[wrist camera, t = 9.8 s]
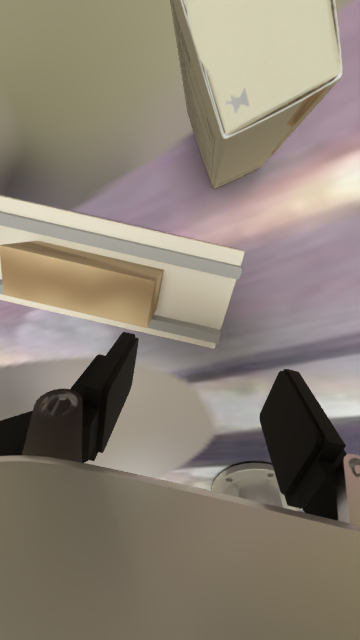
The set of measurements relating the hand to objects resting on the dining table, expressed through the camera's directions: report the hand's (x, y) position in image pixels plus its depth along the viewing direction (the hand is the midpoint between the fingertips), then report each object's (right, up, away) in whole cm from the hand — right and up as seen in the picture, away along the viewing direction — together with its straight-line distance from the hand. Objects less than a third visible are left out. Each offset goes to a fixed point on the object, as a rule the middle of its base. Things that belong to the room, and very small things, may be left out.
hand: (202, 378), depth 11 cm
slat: (-9, +7, +11) cm, 16 cm away
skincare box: (+2, +17, +8) cm, 19 cm away
